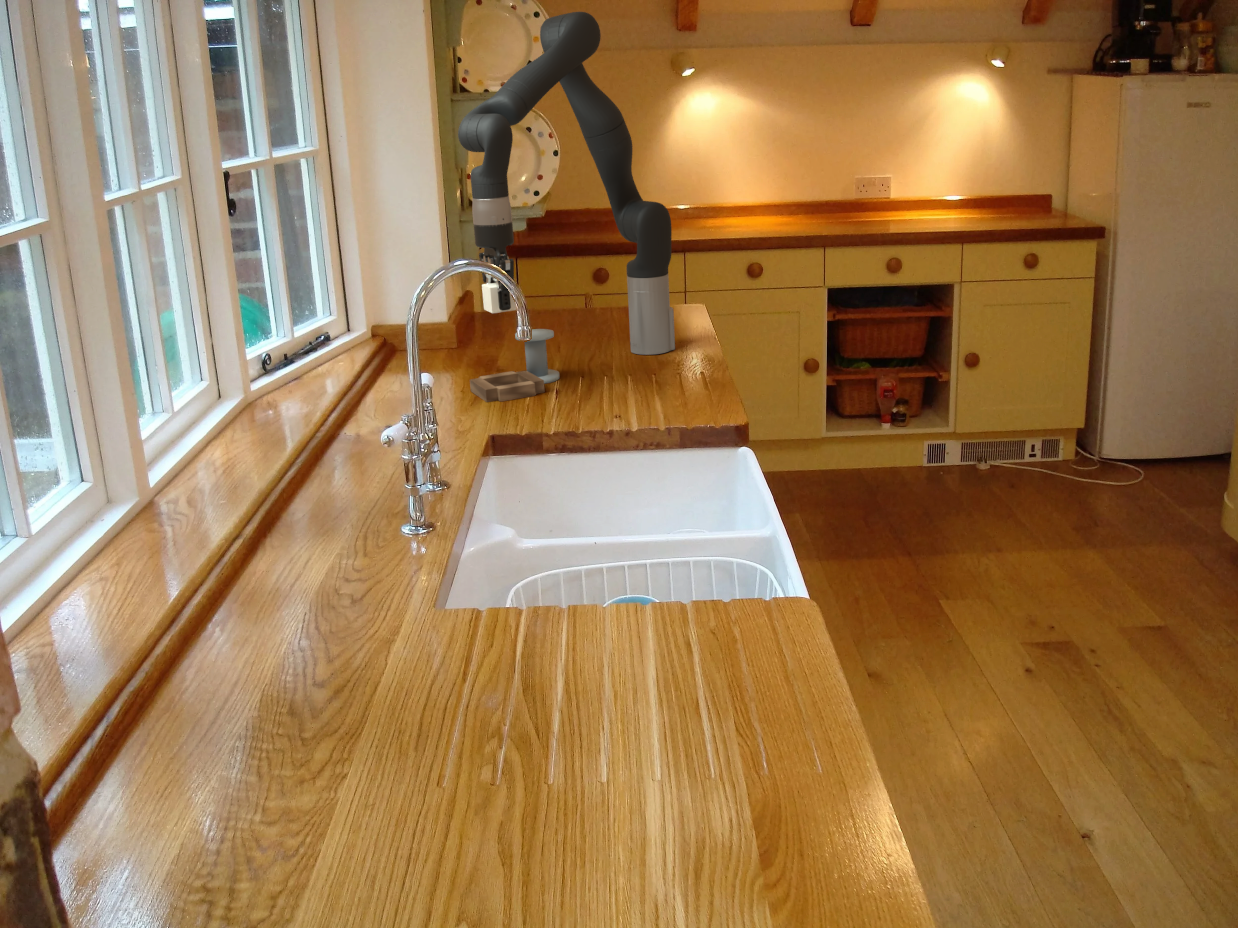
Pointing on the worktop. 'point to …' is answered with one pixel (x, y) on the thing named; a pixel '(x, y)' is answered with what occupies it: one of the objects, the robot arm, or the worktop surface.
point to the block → (493, 299)
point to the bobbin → (539, 355)
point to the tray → (507, 386)
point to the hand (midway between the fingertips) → (500, 307)
